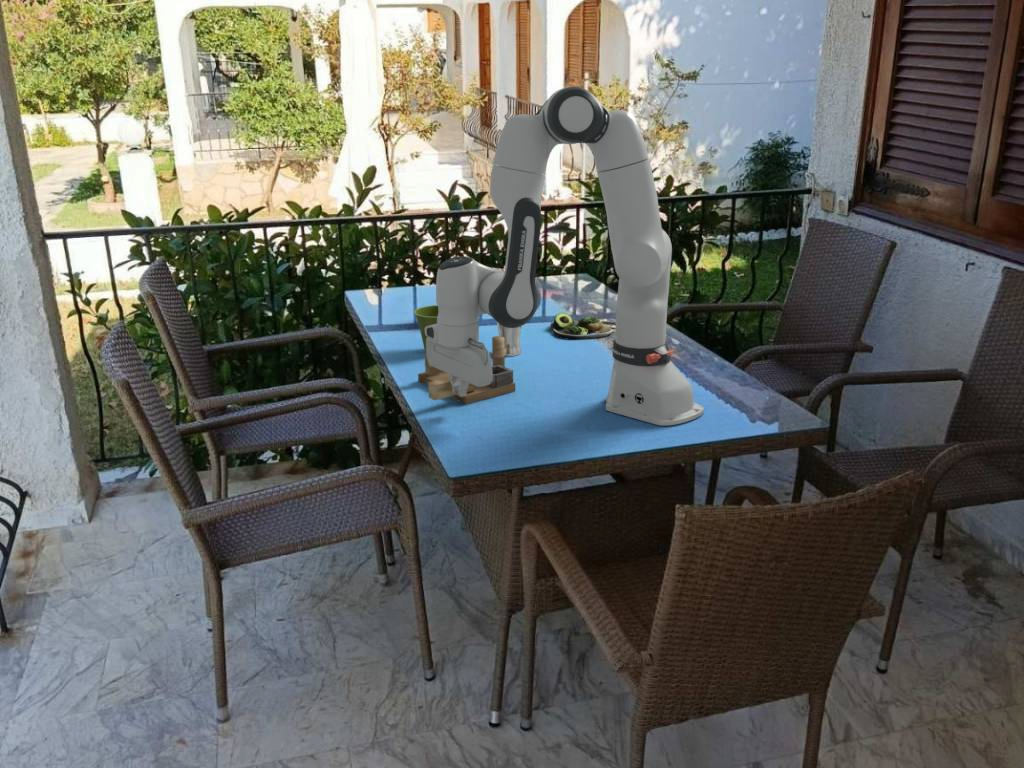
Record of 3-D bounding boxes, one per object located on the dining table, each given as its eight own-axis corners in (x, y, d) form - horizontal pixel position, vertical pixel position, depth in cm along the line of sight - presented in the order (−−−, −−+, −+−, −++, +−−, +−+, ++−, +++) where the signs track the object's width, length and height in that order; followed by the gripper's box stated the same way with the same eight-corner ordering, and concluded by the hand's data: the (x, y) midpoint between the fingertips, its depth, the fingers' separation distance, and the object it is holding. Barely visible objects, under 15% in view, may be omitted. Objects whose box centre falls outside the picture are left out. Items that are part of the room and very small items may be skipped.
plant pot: (425, 343, 252) (423, 303, 249) (466, 347, 249) (465, 306, 245) (408, 356, 242) (406, 314, 238) (451, 360, 238) (449, 318, 235)
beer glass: (520, 357, 240) (519, 301, 235) (494, 356, 241) (493, 300, 236) (525, 349, 246) (525, 294, 241) (499, 348, 248) (498, 293, 243)
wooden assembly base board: (515, 391, 216) (515, 362, 214) (466, 404, 208) (465, 375, 206) (465, 369, 231) (465, 343, 229) (418, 381, 223) (417, 354, 221)
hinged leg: (470, 386, 212) (469, 369, 211) (477, 389, 210) (477, 372, 209) (428, 397, 206) (427, 379, 204) (435, 400, 204) (435, 383, 202)
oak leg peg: (507, 373, 228) (506, 338, 225) (497, 375, 227) (497, 340, 224) (499, 370, 231) (499, 335, 228) (490, 372, 229) (489, 337, 226)
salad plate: (611, 321, 273) (611, 306, 271) (626, 338, 256) (626, 322, 255) (546, 324, 271) (546, 309, 269) (557, 342, 254) (557, 326, 252)
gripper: (499, 342, 191) (500, 404, 196) (444, 321, 206) (445, 379, 211) (474, 348, 188) (475, 411, 192) (420, 326, 203) (422, 385, 207)
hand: (459, 394), depth 202 cm, fingers closed
